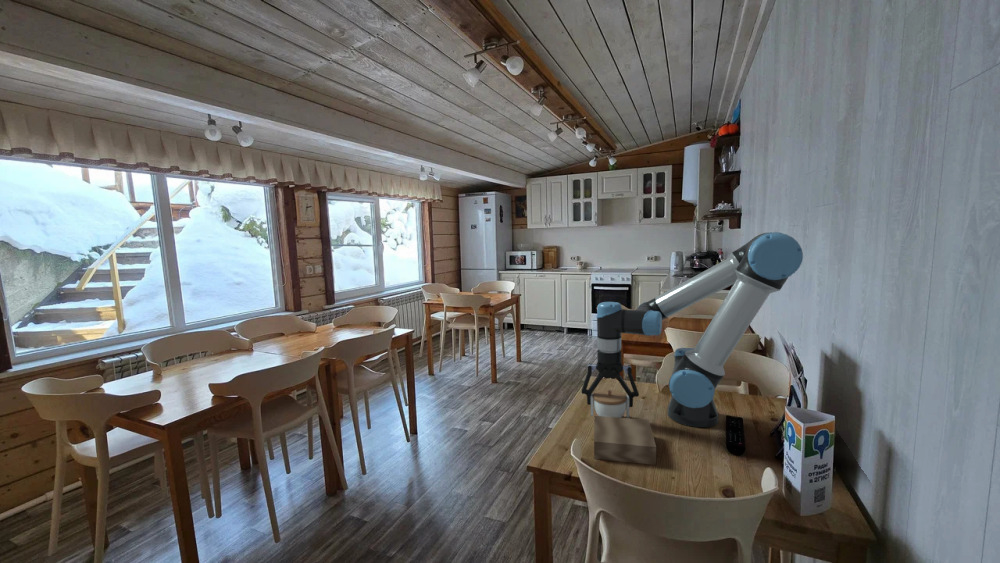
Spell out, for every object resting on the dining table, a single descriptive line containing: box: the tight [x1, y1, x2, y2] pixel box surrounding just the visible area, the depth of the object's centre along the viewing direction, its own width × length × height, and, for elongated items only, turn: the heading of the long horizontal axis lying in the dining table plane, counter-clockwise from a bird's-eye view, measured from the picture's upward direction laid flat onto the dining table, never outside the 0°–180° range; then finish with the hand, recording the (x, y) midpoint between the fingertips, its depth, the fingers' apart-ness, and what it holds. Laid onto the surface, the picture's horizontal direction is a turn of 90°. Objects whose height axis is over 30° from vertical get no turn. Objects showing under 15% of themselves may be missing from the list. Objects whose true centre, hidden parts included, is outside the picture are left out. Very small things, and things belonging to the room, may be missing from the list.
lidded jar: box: [592, 388, 627, 418], centre depth 134 cm, size 11×11×9 cm
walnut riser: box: [593, 415, 657, 466], centre depth 117 cm, size 16×16×5 cm
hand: (609, 414), depth 134 cm, fingers closed on lidded jar, 11 cm apart
